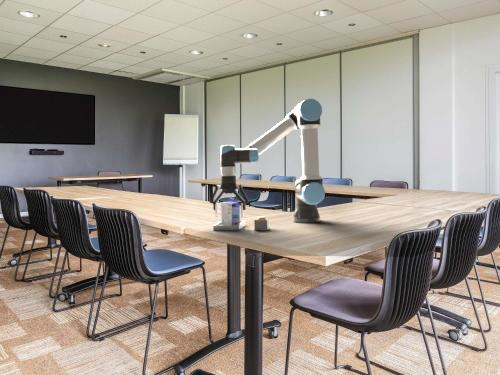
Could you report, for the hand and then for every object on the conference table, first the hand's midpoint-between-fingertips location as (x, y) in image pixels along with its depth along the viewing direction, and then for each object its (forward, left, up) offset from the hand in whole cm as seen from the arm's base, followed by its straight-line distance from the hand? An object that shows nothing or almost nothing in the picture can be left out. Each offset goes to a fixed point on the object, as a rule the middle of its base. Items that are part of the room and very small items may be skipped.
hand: (229, 216), depth 210 cm
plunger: (-18, +5, -5) cm, 19 cm away
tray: (0, 0, -6) cm, 6 cm away
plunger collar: (-17, +5, -6) cm, 19 cm away
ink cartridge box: (0, 0, -5) cm, 5 cm away
